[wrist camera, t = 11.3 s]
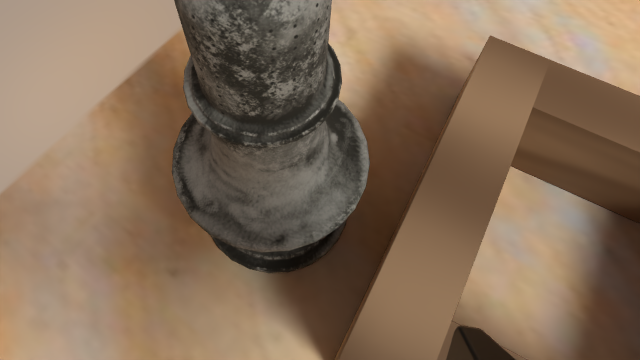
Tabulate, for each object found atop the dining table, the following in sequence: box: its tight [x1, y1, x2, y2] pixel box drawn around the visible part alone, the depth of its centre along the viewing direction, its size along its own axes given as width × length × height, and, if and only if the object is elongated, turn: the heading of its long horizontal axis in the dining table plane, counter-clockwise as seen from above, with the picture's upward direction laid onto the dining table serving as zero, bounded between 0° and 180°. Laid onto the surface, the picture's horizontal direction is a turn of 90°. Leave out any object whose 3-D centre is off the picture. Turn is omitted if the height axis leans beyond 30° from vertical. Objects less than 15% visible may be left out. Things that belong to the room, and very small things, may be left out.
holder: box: [334, 36, 640, 360], centre depth 15 cm, size 12×12×4 cm
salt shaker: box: [172, 0, 370, 273], centre depth 12 cm, size 6×6×12 cm
